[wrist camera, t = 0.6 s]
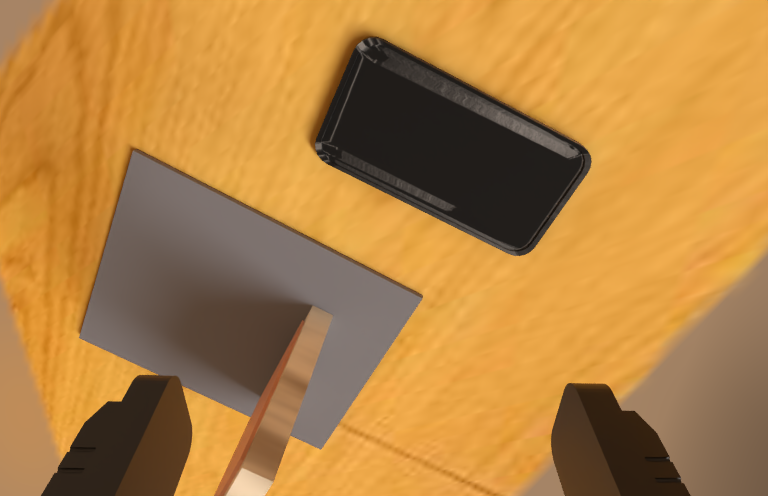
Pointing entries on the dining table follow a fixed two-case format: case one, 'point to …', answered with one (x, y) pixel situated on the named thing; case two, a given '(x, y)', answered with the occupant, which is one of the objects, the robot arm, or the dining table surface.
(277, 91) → the dining table surface
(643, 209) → the dining table surface
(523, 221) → the phone
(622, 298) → the dining table surface
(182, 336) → the mat
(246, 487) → the placard
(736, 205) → the dining table surface
